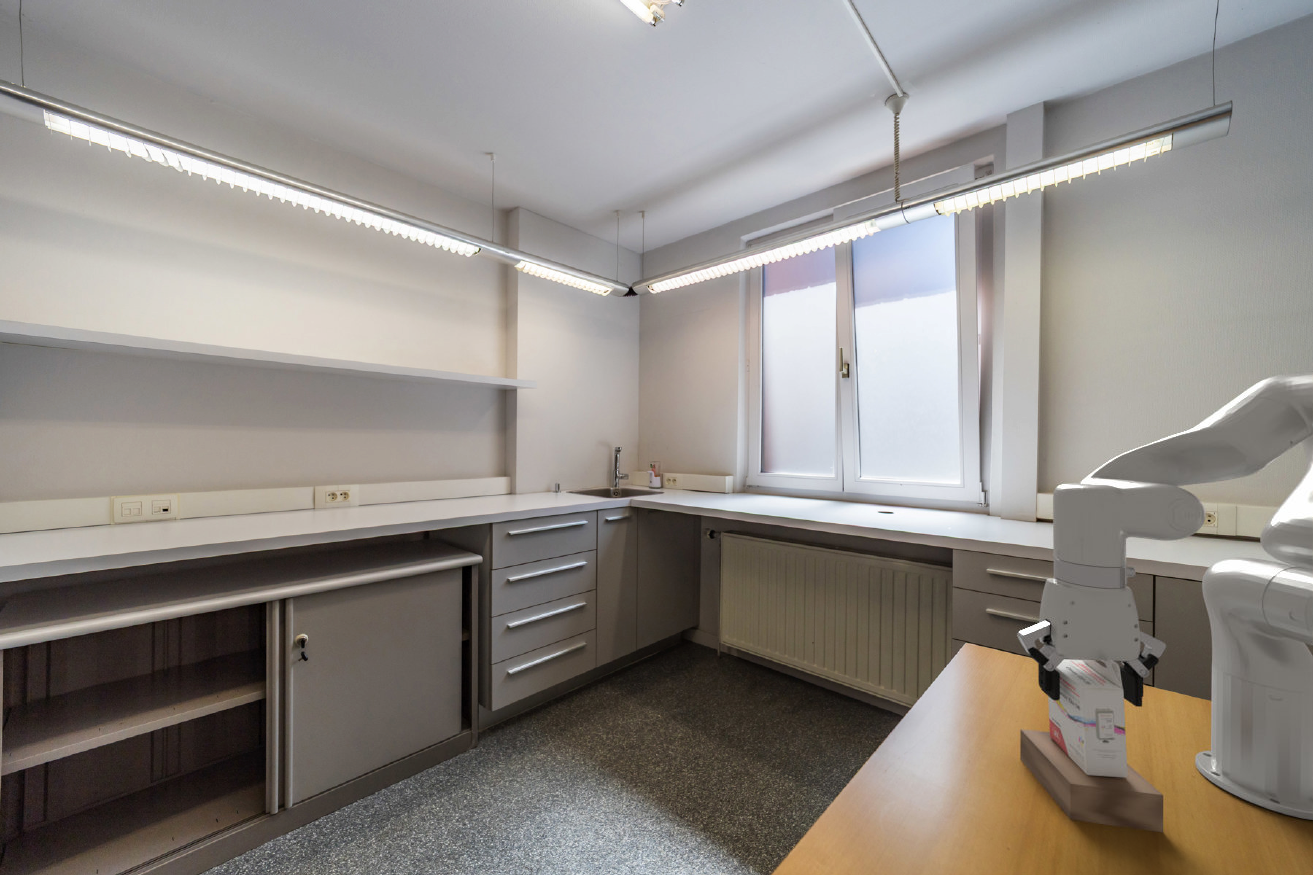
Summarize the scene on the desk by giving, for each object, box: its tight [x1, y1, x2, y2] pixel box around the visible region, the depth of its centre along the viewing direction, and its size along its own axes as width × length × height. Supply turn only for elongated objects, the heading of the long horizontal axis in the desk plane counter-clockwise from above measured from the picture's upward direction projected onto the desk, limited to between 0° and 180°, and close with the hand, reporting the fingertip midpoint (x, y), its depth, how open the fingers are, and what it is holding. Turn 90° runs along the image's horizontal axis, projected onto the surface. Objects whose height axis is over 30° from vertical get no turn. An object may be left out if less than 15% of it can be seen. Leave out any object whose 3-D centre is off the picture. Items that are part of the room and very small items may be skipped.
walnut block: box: [1019, 728, 1164, 833], centre depth 68 cm, size 10×12×5 cm
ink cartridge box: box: [1047, 658, 1128, 778], centre depth 68 cm, size 9×5×15 cm, turn 169°
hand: (1089, 698), depth 68 cm, fingers open, 9 cm apart
